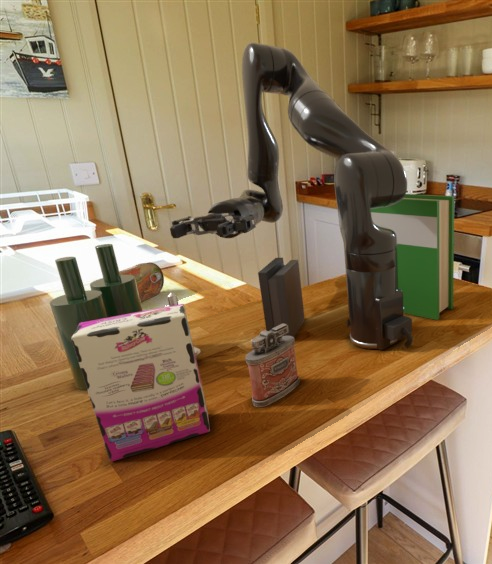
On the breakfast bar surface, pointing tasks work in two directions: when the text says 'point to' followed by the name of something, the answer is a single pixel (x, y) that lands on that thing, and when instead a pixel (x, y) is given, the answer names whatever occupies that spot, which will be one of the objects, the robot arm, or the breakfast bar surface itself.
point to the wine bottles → (91, 301)
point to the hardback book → (422, 251)
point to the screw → (173, 301)
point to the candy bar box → (142, 379)
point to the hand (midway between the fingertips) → (196, 232)
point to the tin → (146, 279)
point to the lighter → (272, 366)
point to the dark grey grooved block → (282, 295)
